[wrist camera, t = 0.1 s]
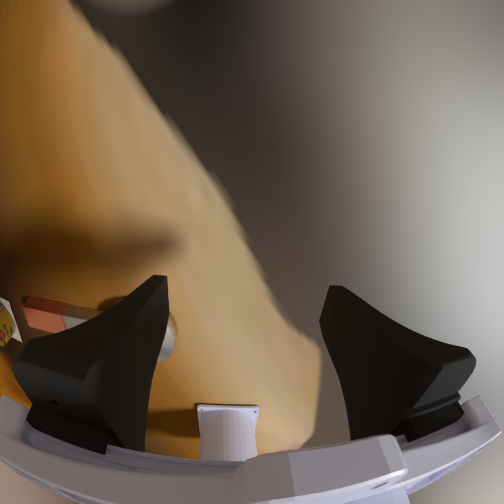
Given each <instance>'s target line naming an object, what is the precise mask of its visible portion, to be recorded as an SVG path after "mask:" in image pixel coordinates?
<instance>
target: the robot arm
mask: <svg viewBox="0 0 504 504" xmlns="http://www.w3.org/2000/svg"><path fill="white" fill-rule="evenodd" d="M168 320H169V300H168V283H167V276H163V275H153V276H151V277H150V278H149V279H148V280H146V281H145V282H144V283H143V284H141V285H140V286H139V287H138V288H136V289H135V290H134V291H133V292H131V293H130V294H129V295H128V296H126V297H125V298H123V299H122V300H121V301H119V302H118V303H116V304H115V305H114V306H112V307H111V308H109V309H107V310H106V311H104V312H102V313H101V314H99V315H97V316H95V317H94V318H92V319H89V320H87V321H85V322H83V323H81V324H79V325H76V326H74V327H72V328H69V329H66V330H64V331H60V332H57V333H54V334H51V335H47V336H43V337H38V338H34V339H29V340H28V341H27V343H26V344H25V345H24V347H23V348H22V350H21V352H20V353H19V355H18V356H17V358H16V359H15V361H14V362H13V366H12V369H13V373H14V376H15V378H16V380H17V382H18V383H19V385H20V386H21V388H22V389H23V391H24V392H25V394H26V395H27V396H28V398H29V399H30V400H31V402H32V403H33V404H32V406H31V409H30V410H29V409H28V408H27V407H26V406H24V405H23V404H21V403H19V402H17V401H15V400H13V399H11V398H9V397H7V396H5V395H2V397H1V399H0V461H1V462H3V463H4V464H5V465H7V466H8V467H9V468H11V469H12V470H13V471H15V472H16V473H18V474H19V475H21V476H23V477H24V478H26V479H28V480H30V481H31V482H33V483H35V484H37V485H39V486H41V487H43V488H44V489H46V490H48V491H50V492H52V493H54V494H57V495H59V496H61V497H63V498H65V499H67V500H70V501H72V502H75V503H77V504H410V502H409V499H408V496H407V495H409V494H411V493H413V492H415V491H417V490H419V489H421V488H423V487H425V486H427V485H429V484H430V483H432V482H434V481H436V480H438V479H439V478H441V477H443V476H445V475H446V474H448V473H450V472H451V471H453V470H455V469H456V468H458V467H459V466H461V465H462V464H464V463H466V462H467V461H468V460H470V459H471V458H472V457H474V456H475V455H476V454H477V453H479V452H480V451H481V450H482V449H483V448H484V447H486V446H487V445H488V444H489V443H490V442H491V441H493V440H494V439H495V438H496V437H497V436H498V435H499V434H500V433H501V429H500V428H499V426H498V424H497V423H496V421H495V419H494V418H493V416H492V414H491V413H490V411H489V409H488V408H487V406H486V405H485V403H484V402H483V400H482V398H481V397H480V396H476V397H474V398H472V399H470V400H468V401H466V402H465V403H463V404H462V405H461V406H460V405H459V403H458V400H460V398H461V396H460V394H459V393H458V391H459V390H460V389H461V387H462V386H463V385H464V383H465V382H466V381H467V379H468V378H469V377H470V375H471V374H472V372H473V370H474V368H475V366H476V358H475V357H474V356H473V354H472V353H471V352H470V351H469V350H468V349H467V348H464V347H460V346H455V345H451V344H447V343H443V342H440V341H437V340H434V339H431V338H429V337H426V336H424V335H421V334H419V333H416V332H414V331H412V330H410V329H408V328H406V327H404V326H403V325H401V324H399V323H397V322H395V321H393V320H392V319H390V318H389V317H387V316H386V315H384V314H382V313H381V312H379V311H378V310H377V309H375V308H374V307H372V306H371V305H369V304H368V303H367V302H365V301H364V300H362V299H361V298H360V297H358V296H357V295H355V294H354V293H352V292H351V291H349V290H348V289H346V288H345V287H343V286H335V285H333V286H332V285H330V286H329V290H328V293H327V296H326V300H325V303H324V307H323V310H322V313H321V316H320V319H319V322H320V327H321V331H322V335H323V339H324V342H325V344H326V347H327V349H328V352H329V354H330V356H331V359H332V362H333V364H334V367H335V369H336V372H337V374H338V377H339V380H340V383H341V387H342V392H343V395H344V400H345V405H346V410H347V415H348V422H349V429H350V437H351V441H349V442H344V443H338V444H333V445H327V446H321V447H314V448H307V449H297V450H286V451H280V452H274V453H267V454H262V455H259V456H257V450H256V440H255V430H254V429H255V425H256V421H257V417H258V413H259V407H258V406H225V405H204V404H199V405H197V411H198V421H199V429H200V435H201V439H200V460H196V459H186V458H176V457H169V456H162V455H155V454H149V453H144V452H145V432H146V420H147V411H148V403H149V395H150V389H151V383H152V378H153V374H154V370H155V367H156V363H157V360H158V357H159V354H160V351H161V347H162V344H163V341H164V338H165V335H166V330H167V325H168Z"/></svg>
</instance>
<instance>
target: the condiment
mask: <svg viewBox="0 0 504 504" xmlns="http://www.w3.org/2000/svg"><path fill="white" fill-rule="evenodd" d="M11 337H13V338H15V339H17V340H19V341H21V342H22V340H21V337H20V334H19V331H18V328H17V324H16V322H15V319H14V315H13V313H12V310H11V307H10V303H9V301H7V300H5V299H3V298H1V297H0V352H1V351H2V349H3V348H4V346H5V345H6V344H7V342H8V341H9V340H10V338H11Z"/></svg>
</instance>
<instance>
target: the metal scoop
mask: <svg viewBox="0 0 504 504" xmlns="http://www.w3.org/2000/svg"><path fill="white" fill-rule="evenodd" d="M123 298H125V297H123ZM123 298H121V299H119V300H118V301H117V302H116V303H118V302H119V301H121V300H122V299H123ZM116 303H115V304H116ZM115 304H114V305H115ZM114 305H113V306H114ZM22 309H23V312H24V314H25V317H26V319H27V322H28V324H29V326H30V327H34V328H37V329H41V330H45V331H49V332H53V333H57V332H60V331H64V330H66V329H69V328H72V327H74V326H76V325H79V324H81V323H83V322H85V321H87V320H89V319H92V318H94V317H95V316H97V315H99V314H101V313H102V312H104V311H102V310H95V309H88V308H82V307H76V306H70V305H69V304H67V303H61V302H56V301H51V300H45V299H40V298H35V297H31V296H30V297H29V298H28V299H27V300H26V302H25V303H24V304H23V305H22ZM176 335H177V325H176V322H175V320H174V318H173V316H172V315H171V313H170V312H169V320H168V325H167V330H166V335H165V338H164V341H163V344H162V347H161V351H160V354H159V357H158V360H157V363H159V362H162V361H164V360H166V359H167V358H168V357H169V356H170V355H171V354H172V352H173V350H174V345H175V340H176Z"/></svg>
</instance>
